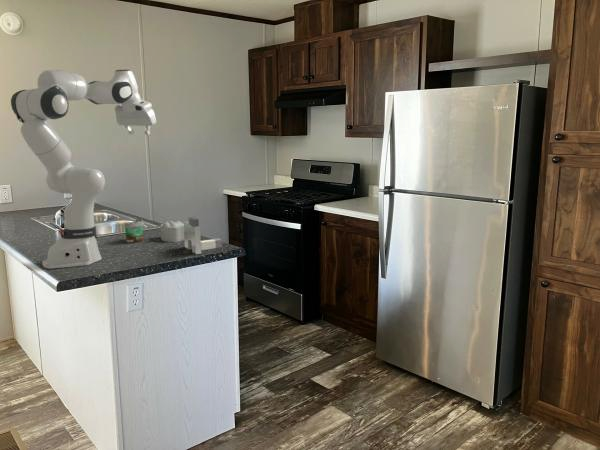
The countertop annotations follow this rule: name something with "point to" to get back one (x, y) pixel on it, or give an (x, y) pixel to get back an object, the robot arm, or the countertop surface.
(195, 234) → the motor housing
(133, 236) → the food container
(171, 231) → the lumpy-topped squat cylinder
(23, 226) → the countertop surface
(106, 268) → the countertop surface
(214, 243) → the cream rectangular bar
